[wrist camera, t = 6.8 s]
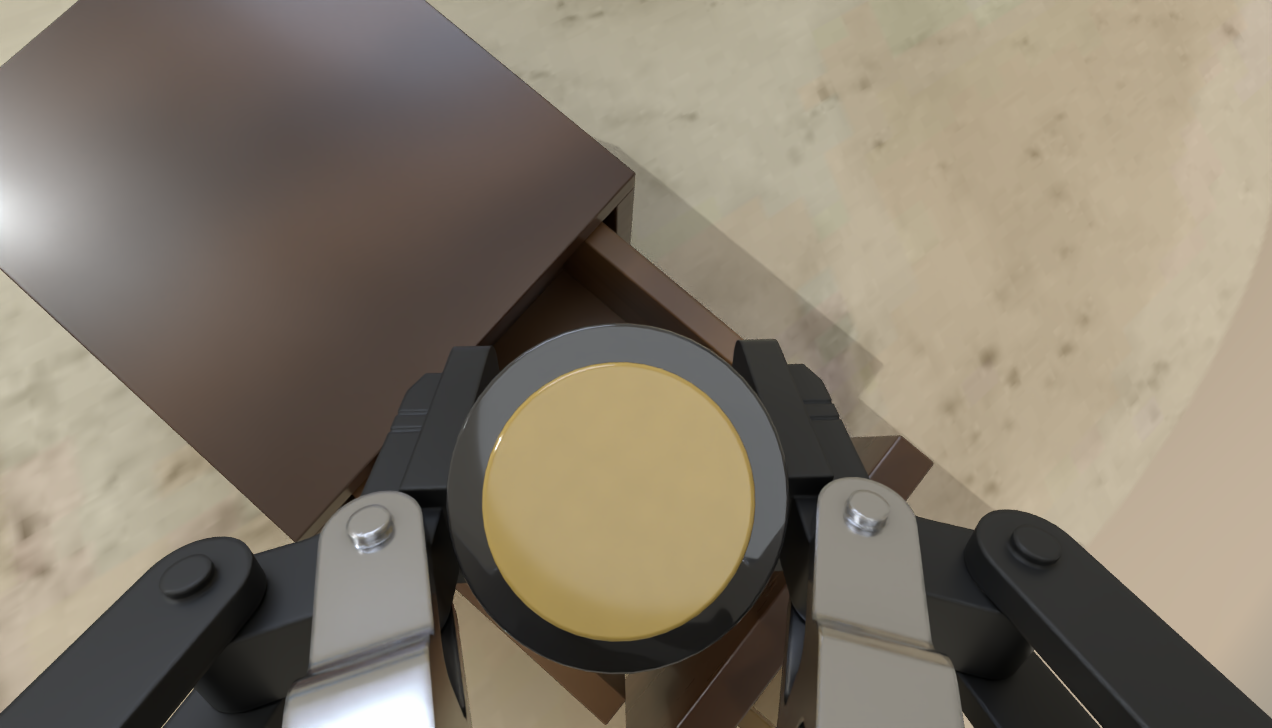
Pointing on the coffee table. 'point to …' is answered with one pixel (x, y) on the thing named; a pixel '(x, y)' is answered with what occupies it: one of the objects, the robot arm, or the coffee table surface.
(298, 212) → the cabinet
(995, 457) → the coffee table surface
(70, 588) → the coffee table surface
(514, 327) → the drawer
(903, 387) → the coffee table surface
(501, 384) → the cylinder
